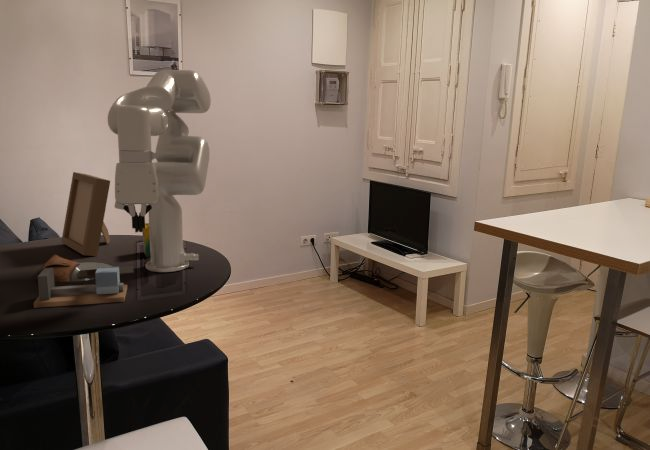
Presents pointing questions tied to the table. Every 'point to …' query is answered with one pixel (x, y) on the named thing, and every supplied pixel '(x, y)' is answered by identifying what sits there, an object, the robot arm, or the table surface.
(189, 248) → the table surface
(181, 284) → the table surface
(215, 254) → the table surface
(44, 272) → the dark grey slab
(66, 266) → the sunglasses case
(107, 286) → the grey slider block
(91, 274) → the smartphone
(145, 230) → the crayon box
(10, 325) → the table surface
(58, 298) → the rail board
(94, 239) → the photo frame
